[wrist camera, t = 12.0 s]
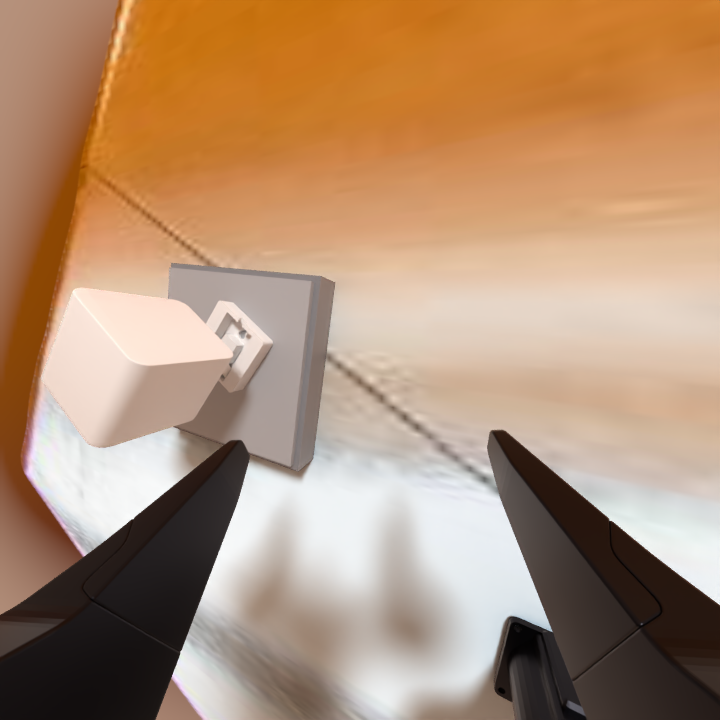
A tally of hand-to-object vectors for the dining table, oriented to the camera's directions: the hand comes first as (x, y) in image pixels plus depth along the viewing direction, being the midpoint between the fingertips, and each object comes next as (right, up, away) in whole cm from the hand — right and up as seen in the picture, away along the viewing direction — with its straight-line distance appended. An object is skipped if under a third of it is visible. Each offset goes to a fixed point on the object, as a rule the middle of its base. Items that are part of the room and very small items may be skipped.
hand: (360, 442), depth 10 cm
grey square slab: (-11, +3, +17) cm, 20 cm away
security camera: (-11, +4, +14) cm, 18 cm away
